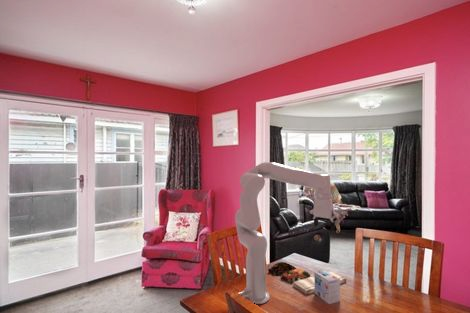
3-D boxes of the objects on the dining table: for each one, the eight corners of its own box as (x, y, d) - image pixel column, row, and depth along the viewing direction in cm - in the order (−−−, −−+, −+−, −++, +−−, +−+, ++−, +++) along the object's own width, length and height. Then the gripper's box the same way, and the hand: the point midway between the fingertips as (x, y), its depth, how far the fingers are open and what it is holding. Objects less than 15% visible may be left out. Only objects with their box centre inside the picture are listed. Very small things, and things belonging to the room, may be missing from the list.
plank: (306, 294, 126) (306, 290, 126) (293, 285, 135) (293, 281, 135) (346, 281, 139) (346, 277, 139) (331, 274, 148) (331, 271, 148)
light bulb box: (314, 293, 127) (313, 271, 127) (325, 290, 130) (324, 269, 130) (329, 304, 117) (328, 280, 117) (340, 301, 120) (340, 278, 120)
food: (263, 272, 153) (263, 266, 153) (283, 264, 165) (283, 259, 165) (293, 286, 136) (293, 279, 136) (313, 276, 148) (313, 270, 148)
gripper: (306, 195, 146) (306, 226, 146) (335, 198, 133) (336, 231, 133) (313, 194, 151) (313, 223, 151) (341, 197, 138) (342, 229, 138)
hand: (324, 227), depth 142 cm, fingers open, 9 cm apart
